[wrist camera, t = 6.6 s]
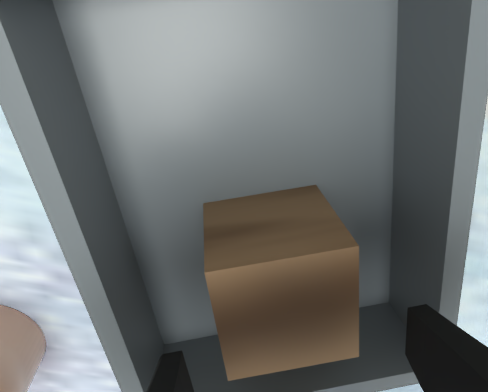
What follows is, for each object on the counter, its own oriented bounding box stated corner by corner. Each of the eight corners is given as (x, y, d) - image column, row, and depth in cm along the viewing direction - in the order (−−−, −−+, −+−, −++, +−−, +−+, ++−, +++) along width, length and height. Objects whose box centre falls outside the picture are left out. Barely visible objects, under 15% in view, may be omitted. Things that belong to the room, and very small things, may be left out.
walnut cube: (321, 276, 19) (358, 357, 14) (221, 293, 19) (228, 380, 14) (316, 184, 17) (359, 245, 12) (203, 203, 16) (204, 272, 12)
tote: (396, 300, 21) (449, 377, 17) (153, 346, 21) (141, 438, 16) (411, -80, 14) (517, -131, 9) (28, -22, 13) (-63, -43, 9)
